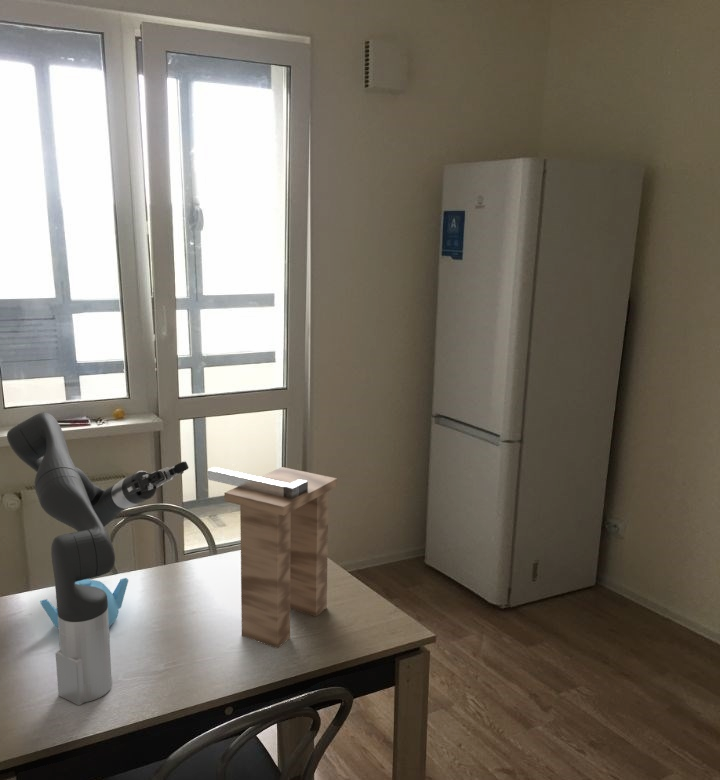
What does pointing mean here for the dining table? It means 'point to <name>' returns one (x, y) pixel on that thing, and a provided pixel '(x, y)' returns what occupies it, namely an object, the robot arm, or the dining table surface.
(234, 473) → the crook tool
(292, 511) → the shelf
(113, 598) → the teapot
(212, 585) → the dining table surface
